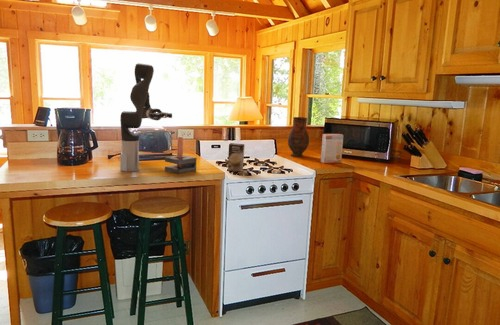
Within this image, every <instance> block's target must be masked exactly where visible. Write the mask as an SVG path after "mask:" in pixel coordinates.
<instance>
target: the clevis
mask: <svg viewBox="0 0 500 325" xmlns="http://www.w3.org/2000/svg"><path fill="white" fill-rule="evenodd" d="M164 162H167V163H170V164H172V165H165V166H164V171H165V172H168V173H173V174H177V175H184V174H187V173H192V172H197V157H195V156H190V155H186V154H183V157H182V158H181V159H179V158H177V155H171V156H165V157H164ZM177 164H178V165H181V164H182V168H177Z"/></svg>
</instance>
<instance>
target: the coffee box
mask: <svg viewBox="0 0 500 325" xmlns="http://www.w3.org/2000/svg"><path fill="white" fill-rule="evenodd" d="M228 144H229V145H228V153H227V154H228V159H227V171H231V172H239V173H240V172H243V170H244V158H245V144H244V143H234V142H233V143H232V142H230V143H228Z"/></svg>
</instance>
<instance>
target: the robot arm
mask: <svg viewBox="0 0 500 325" xmlns="http://www.w3.org/2000/svg"><path fill="white" fill-rule="evenodd" d="M154 74H155V70H154V66H153V65H151V64H147V63H139V62H138V63H136V64H135V67H134V78H135V85H134V86H132V89H131V92H130V95H129V98H130V101H131V103H132V104H133V106H134V108H135V109H136V110H135V111H130V110H129V111H125V110H124V111H122V112H121V114H120V134H121V135H120V136H121V153H120V154H119V159H120V160H119V162H120V163H119V164H120V165H119V167H120V171H122V172H126V173H128V172H129V173H131V172H138V171H139V170H140V155H139V154H140V143H139V142H140V140H139V139H140V137H139V135H138V134H136V133H134V132H132V131H131V130H130V129H139V128H140V127H141V125H142V122H143V119H149V120H153V121H160V120H161V119H169V118H170V119H173V114H172V113H171V112H170V113H169V112H163V111H162V110H161V109H159V108H155V107H151V103H150V93H149V90H150V85H151V82H152V79H153V76H154Z"/></svg>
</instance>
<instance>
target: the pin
mask: <svg viewBox="0 0 500 325" xmlns="http://www.w3.org/2000/svg"><path fill="white" fill-rule="evenodd" d="M183 141H184V137H183V136H177V145H176V147H177V148H176V149H177V150H176V152H177V154H176V156H177V158H179V159H181V158H182V157H183V155H184V154H183V152H184V151H183V150H184V149H183V147H184V146H183V145H184V142H183ZM176 165H177V168H182V164H181V165H178V164H176Z"/></svg>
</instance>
